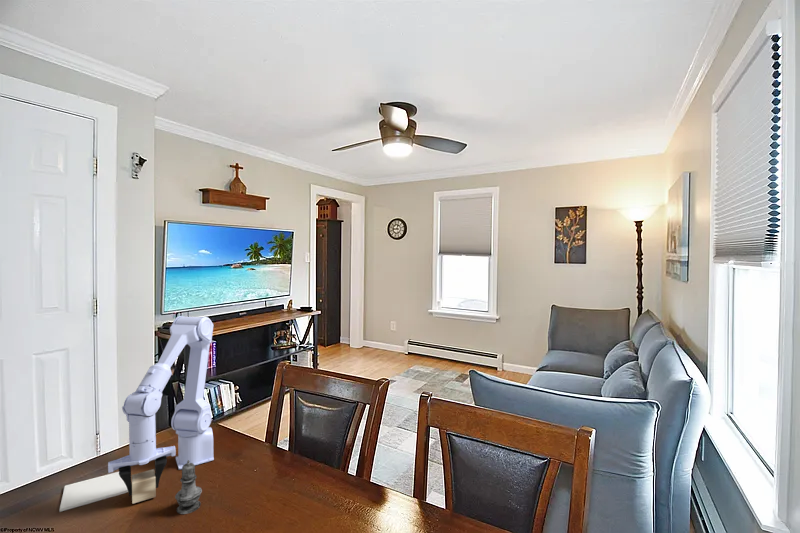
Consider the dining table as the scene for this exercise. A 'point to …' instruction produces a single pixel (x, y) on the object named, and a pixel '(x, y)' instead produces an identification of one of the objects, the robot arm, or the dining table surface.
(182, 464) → the robot arm
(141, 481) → the birch block
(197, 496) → the grey stone chess piece
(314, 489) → the dining table surface
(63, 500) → the white mat
